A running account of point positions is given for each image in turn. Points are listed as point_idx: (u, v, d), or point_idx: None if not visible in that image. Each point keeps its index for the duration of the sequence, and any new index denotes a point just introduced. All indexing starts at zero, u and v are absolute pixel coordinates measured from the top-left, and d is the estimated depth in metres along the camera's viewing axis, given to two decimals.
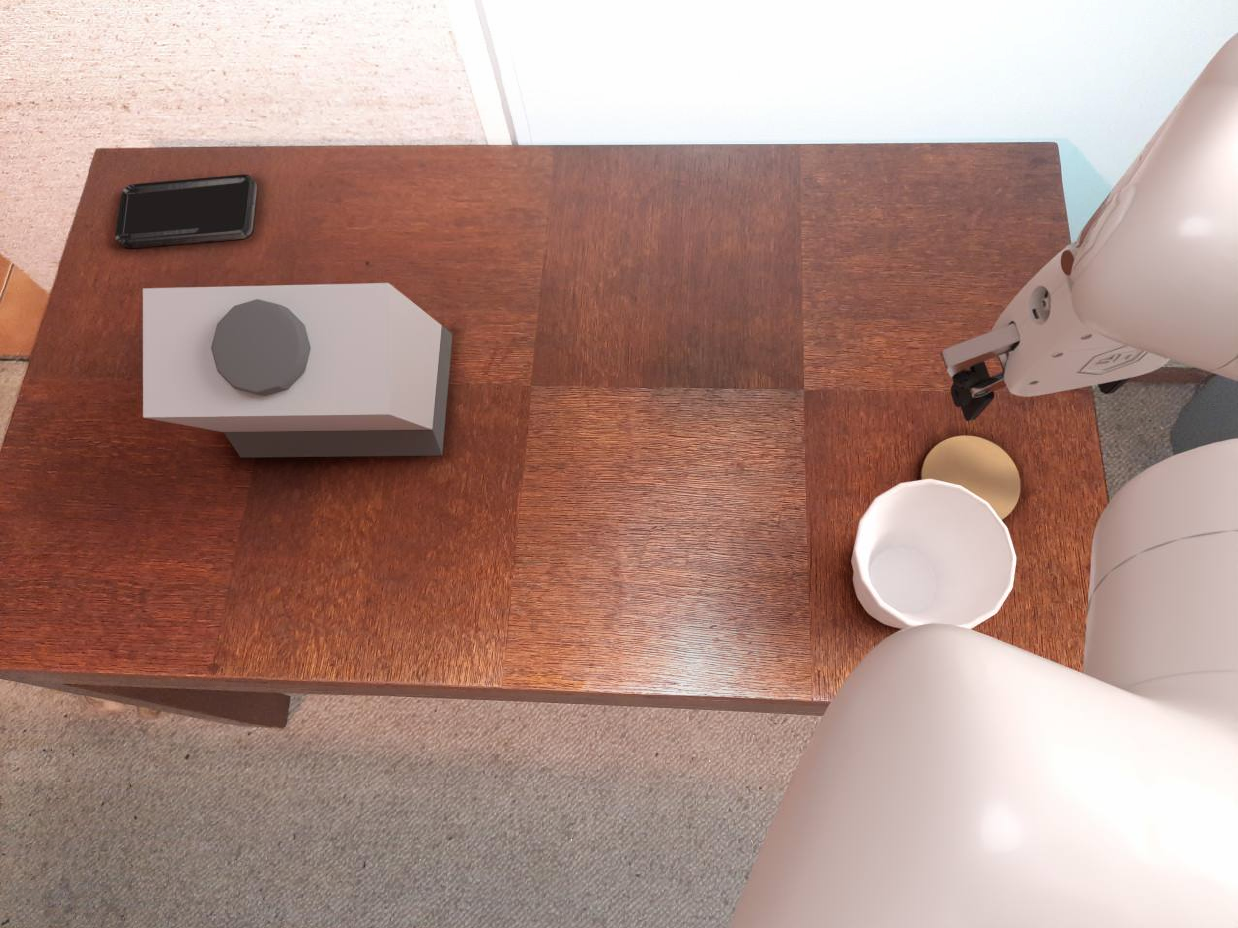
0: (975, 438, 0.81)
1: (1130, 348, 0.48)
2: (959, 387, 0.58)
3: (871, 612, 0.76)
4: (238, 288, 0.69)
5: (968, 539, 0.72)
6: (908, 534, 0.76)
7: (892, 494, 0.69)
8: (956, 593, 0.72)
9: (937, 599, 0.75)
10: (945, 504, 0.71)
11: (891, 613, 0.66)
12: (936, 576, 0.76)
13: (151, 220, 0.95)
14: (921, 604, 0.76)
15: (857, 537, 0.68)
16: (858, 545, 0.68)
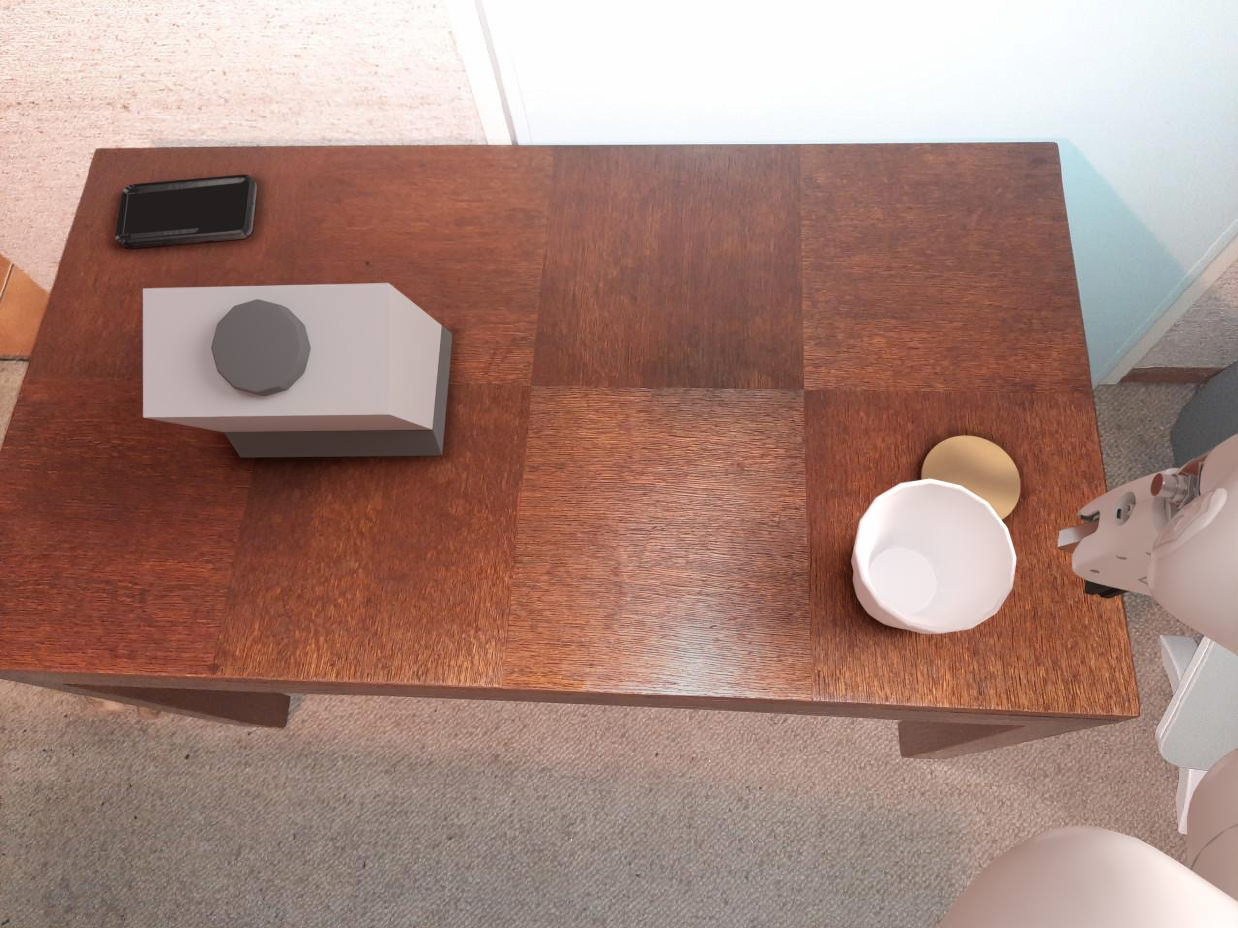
0: (975, 438, 0.81)
1: None
2: None
3: (871, 612, 0.76)
4: (238, 288, 0.69)
5: (968, 539, 0.72)
6: (908, 534, 0.76)
7: (892, 494, 0.69)
8: (956, 593, 0.72)
9: (937, 599, 0.75)
10: (945, 504, 0.71)
11: (891, 613, 0.66)
12: (936, 576, 0.76)
13: (151, 220, 0.95)
14: (921, 604, 0.76)
15: (857, 537, 0.68)
16: (858, 545, 0.68)
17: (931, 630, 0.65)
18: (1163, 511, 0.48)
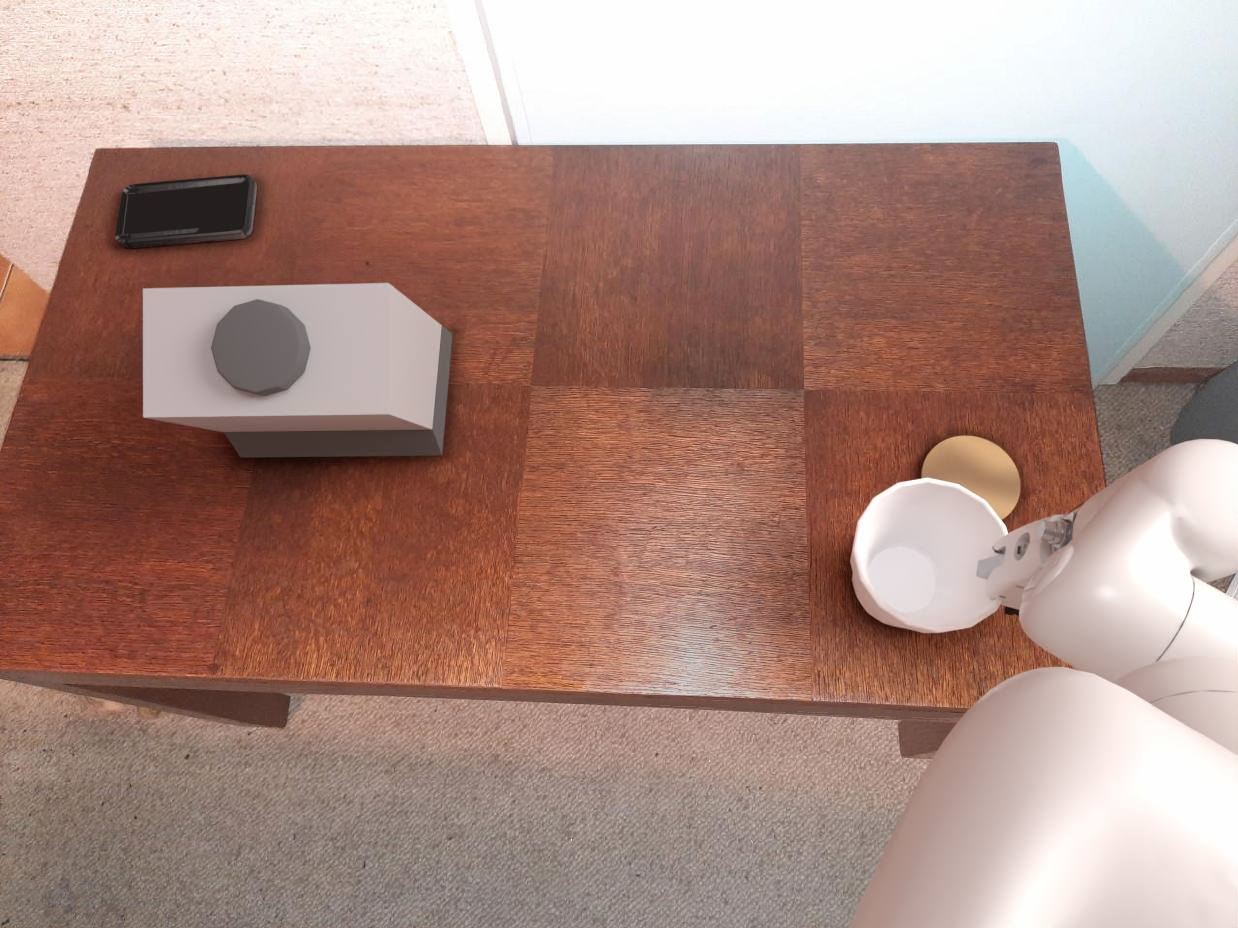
0: (975, 438, 0.81)
1: None
2: None
3: (871, 612, 0.76)
4: (238, 288, 0.69)
5: (966, 537, 0.72)
6: (906, 533, 0.76)
7: (890, 494, 0.69)
8: (955, 592, 0.72)
9: (937, 597, 0.75)
10: (943, 503, 0.71)
11: (891, 613, 0.66)
12: (935, 574, 0.77)
13: (151, 220, 0.95)
14: (921, 603, 0.76)
15: (855, 537, 0.68)
16: (857, 545, 0.68)
17: (931, 629, 0.65)
18: (1049, 550, 0.58)
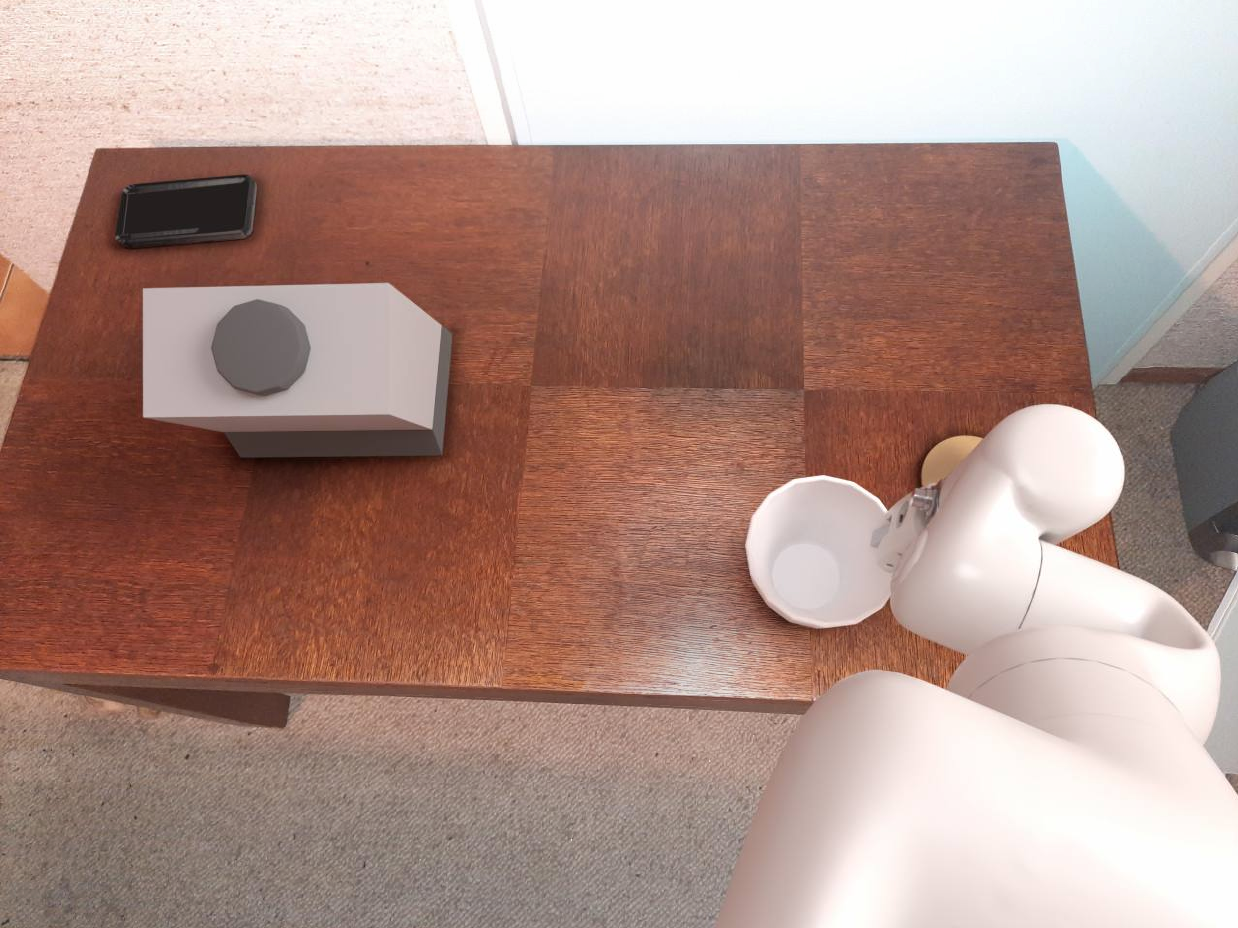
0: (975, 438, 0.81)
1: None
2: None
3: None
4: (238, 288, 0.69)
5: (849, 519, 0.73)
6: (794, 532, 0.76)
7: (765, 507, 0.70)
8: (858, 573, 0.73)
9: (843, 582, 0.76)
10: (816, 495, 0.72)
11: (806, 622, 0.66)
12: (834, 560, 0.78)
13: (151, 220, 0.95)
14: (831, 592, 0.77)
15: (749, 561, 0.68)
16: (752, 569, 0.68)
17: (848, 623, 0.66)
18: (923, 517, 0.60)
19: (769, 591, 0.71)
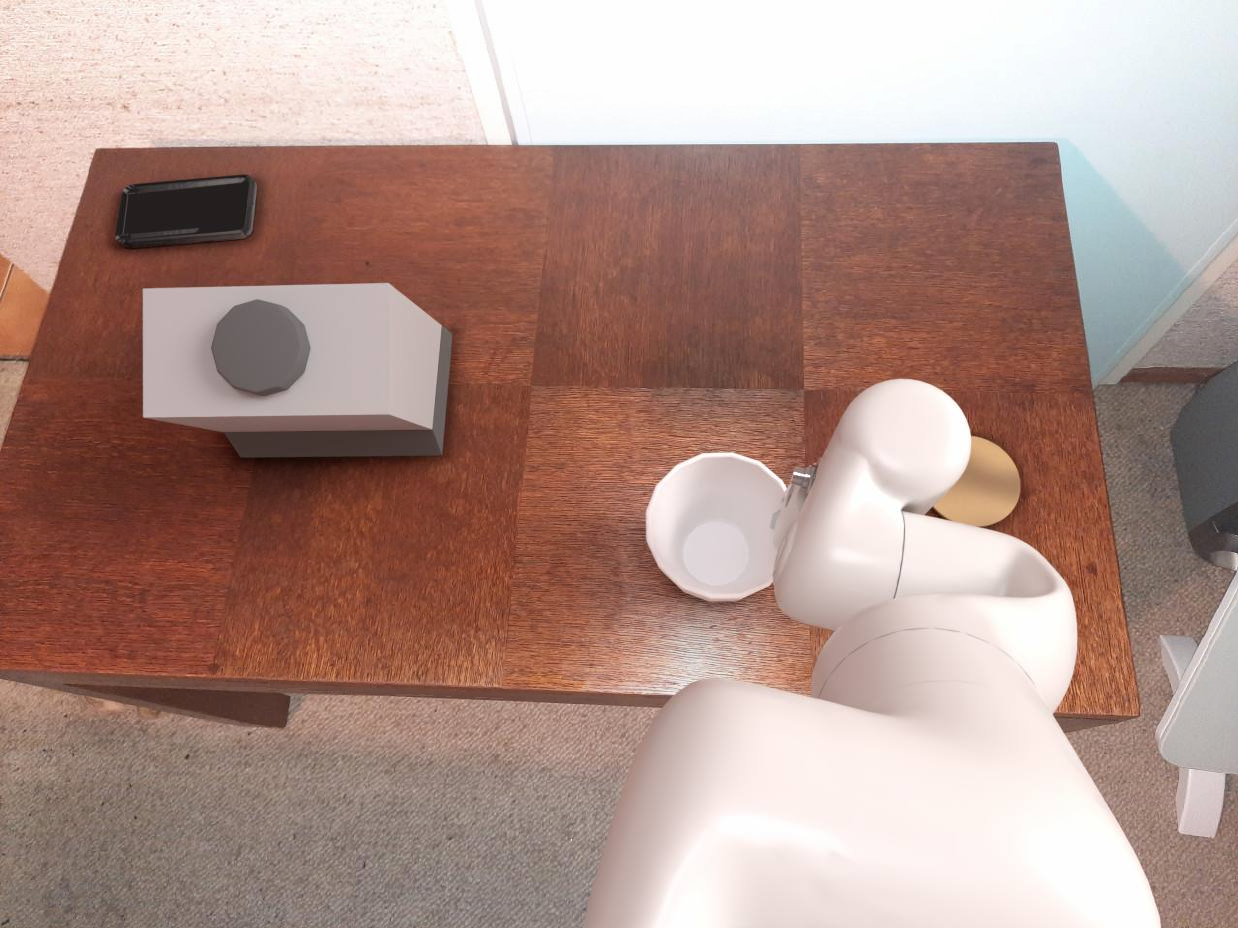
0: (975, 438, 0.81)
1: None
2: None
3: None
4: (238, 288, 0.70)
5: (758, 499, 0.74)
6: (708, 508, 0.78)
7: (671, 478, 0.71)
8: (761, 553, 0.74)
9: (750, 562, 0.77)
10: (727, 472, 0.73)
11: (693, 591, 0.67)
12: (746, 540, 0.79)
13: (151, 220, 0.95)
14: (738, 571, 0.78)
15: (646, 528, 0.69)
16: (649, 535, 0.69)
17: (733, 597, 0.67)
18: (805, 496, 0.61)
19: (670, 561, 0.73)
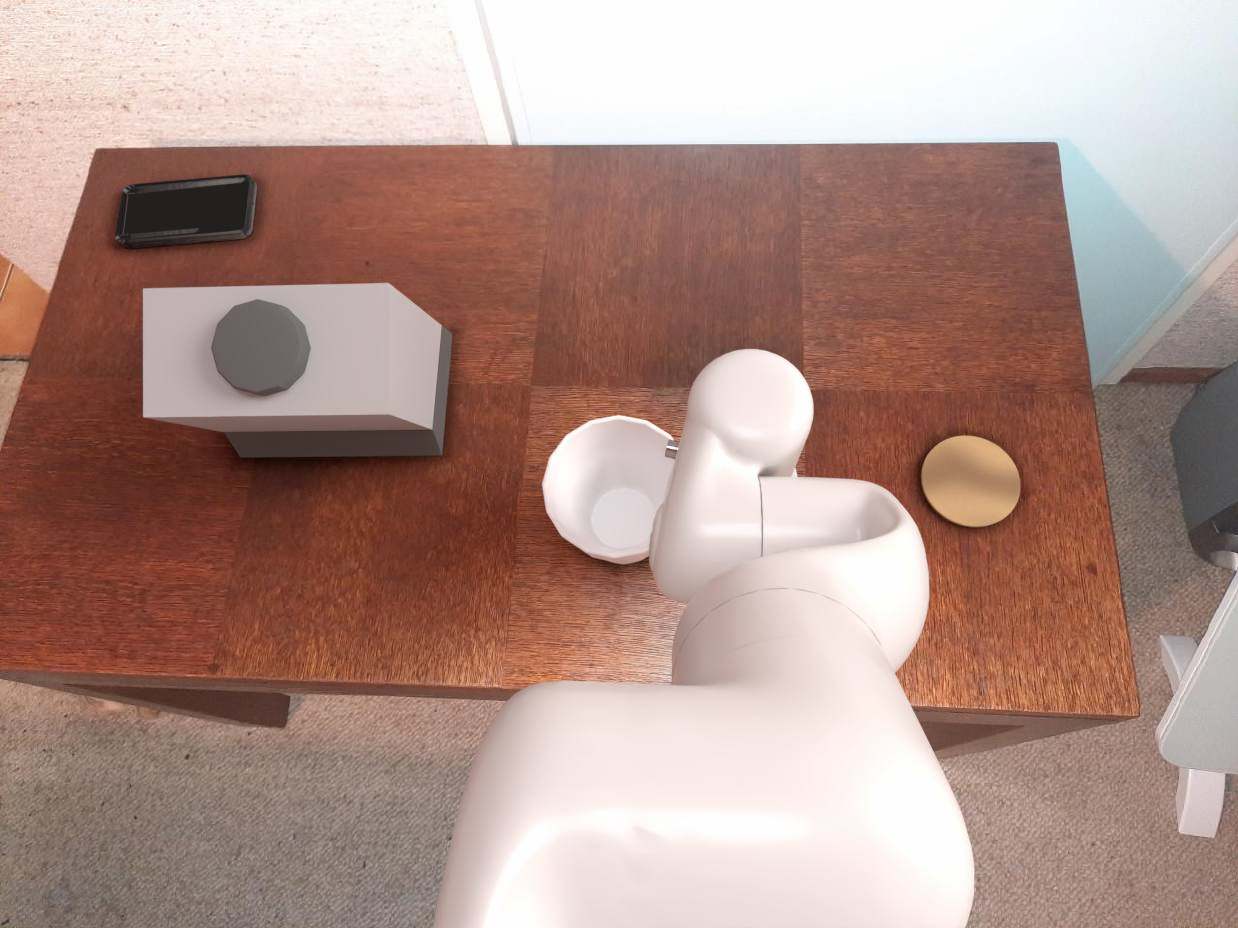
0: (975, 438, 0.81)
1: None
2: None
3: None
4: (238, 288, 0.69)
5: (667, 473, 0.75)
6: (623, 473, 0.79)
7: (583, 431, 0.73)
8: None
9: None
10: (641, 440, 0.75)
11: (571, 541, 0.69)
12: (655, 513, 0.80)
13: (151, 220, 0.95)
14: (639, 540, 0.79)
15: (545, 472, 0.71)
16: (545, 480, 0.71)
17: (607, 555, 0.69)
18: None
19: (567, 512, 0.75)
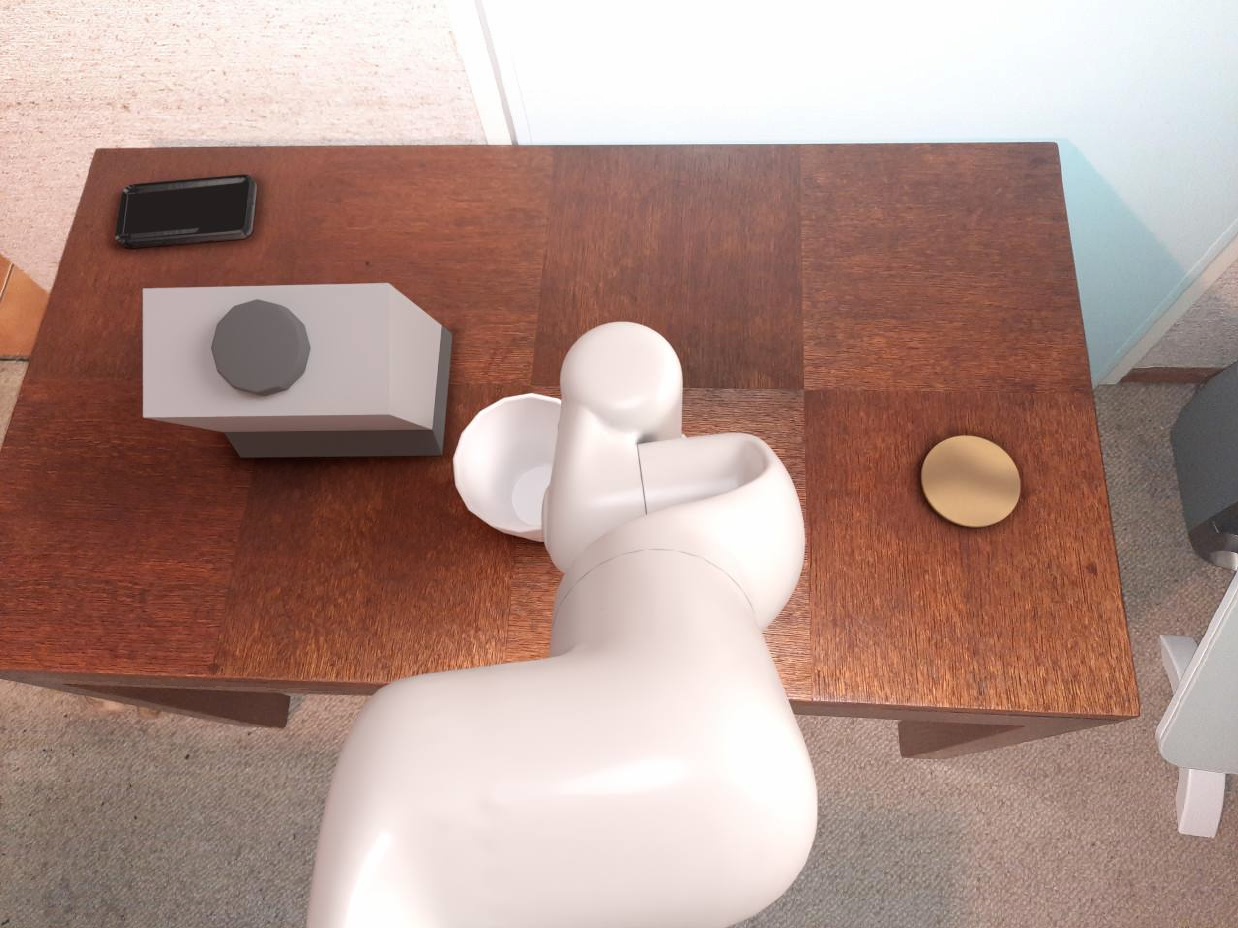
0: (975, 438, 0.81)
1: None
2: None
3: None
4: (238, 288, 0.69)
5: None
6: (543, 452, 0.80)
7: (496, 409, 0.74)
8: None
9: None
10: (556, 419, 0.76)
11: (478, 515, 0.71)
12: None
13: (151, 220, 0.95)
14: None
15: (457, 448, 0.73)
16: (456, 455, 0.72)
17: (512, 530, 0.70)
18: None
19: (482, 488, 0.76)
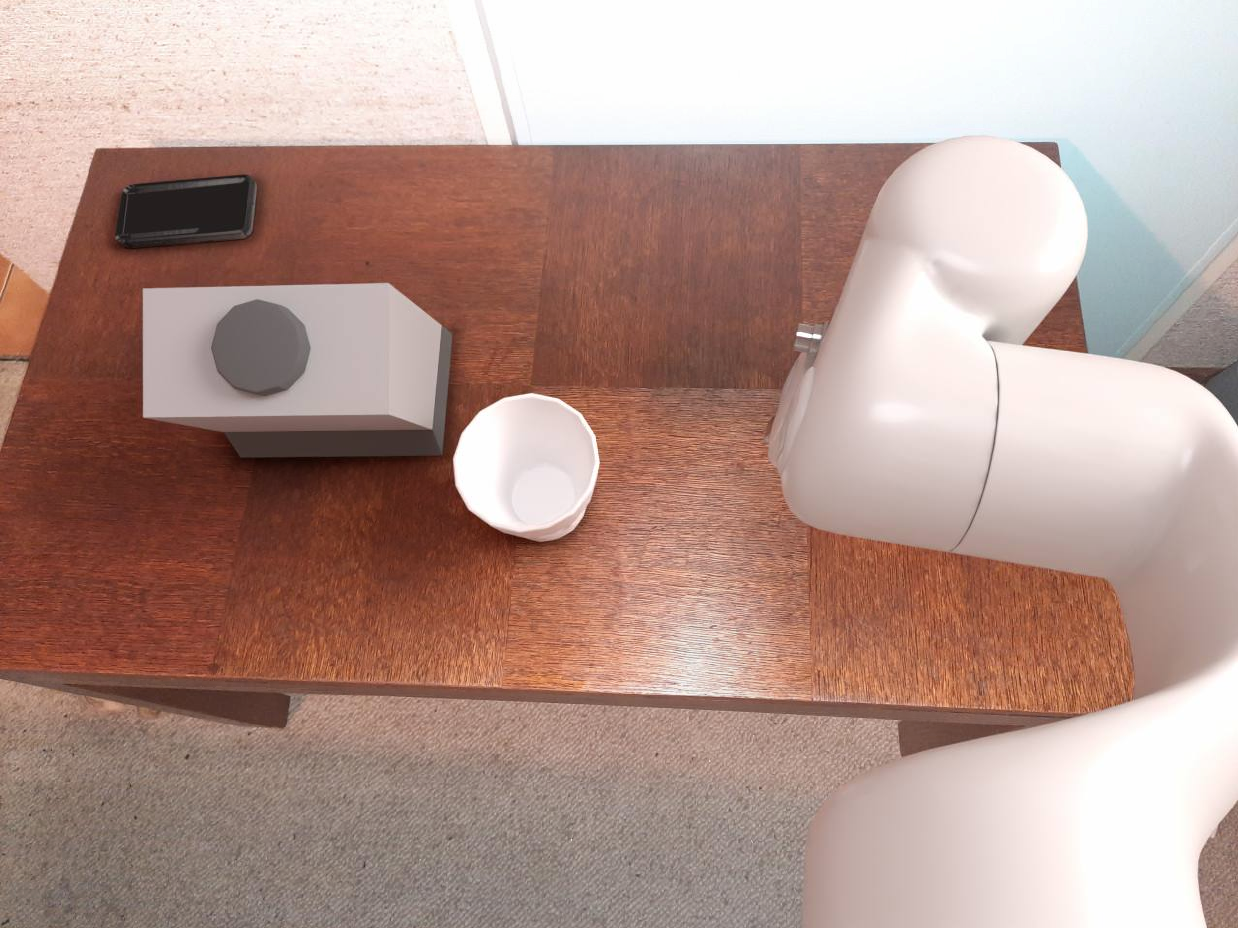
0: None
1: None
2: None
3: None
4: (238, 288, 0.69)
5: (581, 452, 0.77)
6: (543, 452, 0.80)
7: (496, 409, 0.74)
8: (573, 503, 0.77)
9: None
10: (556, 419, 0.76)
11: (478, 515, 0.70)
12: (574, 492, 0.81)
13: (151, 220, 0.95)
14: None
15: (457, 447, 0.73)
16: (456, 455, 0.72)
17: (512, 530, 0.70)
18: None
19: (482, 488, 0.76)
